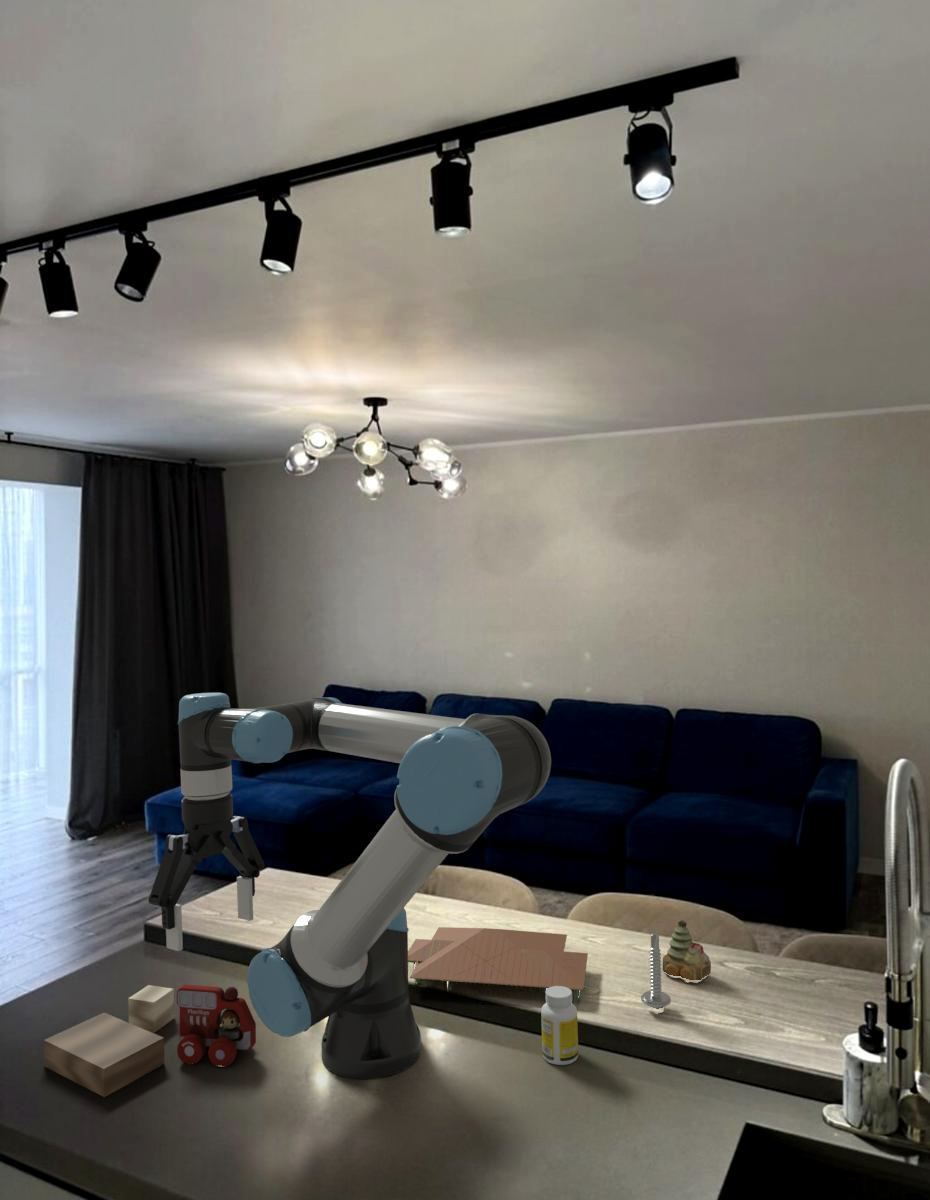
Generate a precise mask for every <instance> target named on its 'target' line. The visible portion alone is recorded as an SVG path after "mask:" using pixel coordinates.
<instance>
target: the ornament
mask: <svg viewBox="0 0 930 1200" xmlns="http://www.w3.org/2000/svg"><path fill="white" fill-rule="evenodd" d="M673 931H674V932H673V933H672V934H671V938H672V939H670V940H669V946H670V947H669V949H668V950H667V952H666V953H667V954H665V955H664V956H663V957H662V971H663V973H664V972H666V973H667V974H669V975H673V976H681V977H682V978H686V979H689V980H701V979H702V978H704V977H705V976H707V975H709V974H710V975H711V972H712V961H711V960H710V957H709V955H708V954H707V953H706V952H705V951H704V946H703V945H702V944H700V943H697V942H694V941H692V939H693V938H692V935H691V934H690V929H689V928H688V927H687V922H686V921H685V920H683V919H681V920H680V921H678V923H677V926H676V927H675V928H674V930H673ZM710 975H709V976H710Z"/></svg>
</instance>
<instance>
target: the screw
mask: <svg viewBox="0 0 930 1200" xmlns="http://www.w3.org/2000/svg"><path fill="white" fill-rule="evenodd" d="M649 949H650V951H649V953H650V954H648V955H649V960H650V961H649V963H650V965H649V967H650V968H649V971H650V972H649V974H650V975H649V978H650V979H649V981H650V982H649V985H650V987H649V988H650V990H648V991H647V990H646V991H645V992H643V993H642V994H641V996H640V999H641V1002H642V1003H643V1004H645V1005H646V1006H647V1007H648V1006H650V1007H653V1008H656V1009H659V1008H663V1007H664V1008H665V1007H667V1006H669V1005H670V1004H671V1003H672V998H671V996H670V995H668V993H666V992H664V991H662V988H663V987H662V978H661V977H662V974H661V973H662V971H661V970H662V967H661V966H662V961H661V959H662V956H661V955H662V953H661V949H660V936H659V934H658V933H657V932H653V933H651V934H650V947H649Z"/></svg>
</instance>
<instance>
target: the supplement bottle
mask: <svg viewBox="0 0 930 1200" xmlns="http://www.w3.org/2000/svg"><path fill="white" fill-rule="evenodd" d="M572 995H573V992H572V989H569V988H567V987H563V986H553V987H550V988H548V989H547V990H546V1001H545V1003H544V1004H543V1005H542V1007H541V1010H540V1011H541V1014H540V1015H541V1016H540V1017H541V1052H542V1057H543V1059H544V1060H545V1061H546V1062H547V1063H549V1064H552V1065H556V1066H557V1065H558V1066H566V1065H570V1064H573V1063H575V1062H576V1061H577V1059H578V1057H579V1036H578V1035H579V1032H578V1009H577V1007H576V1006H575V1004H573V1003H572V1002H573V996H572Z"/></svg>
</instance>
